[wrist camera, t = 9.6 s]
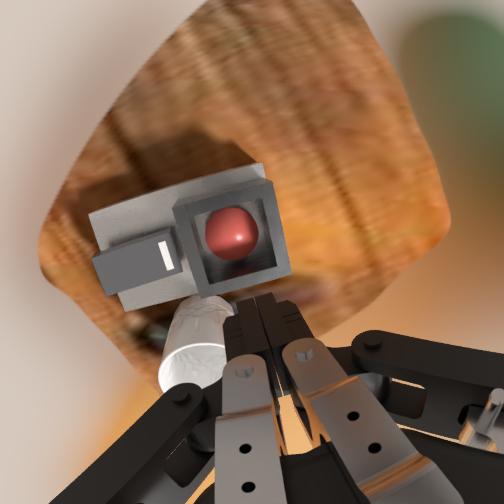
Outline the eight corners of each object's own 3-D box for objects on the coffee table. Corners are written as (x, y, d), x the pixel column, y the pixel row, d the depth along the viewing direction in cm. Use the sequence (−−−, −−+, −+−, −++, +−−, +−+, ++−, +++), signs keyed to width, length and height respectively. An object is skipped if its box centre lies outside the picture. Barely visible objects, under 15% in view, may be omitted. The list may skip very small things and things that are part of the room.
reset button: (199, 213, 25) (198, 216, 24) (249, 199, 26) (252, 202, 24) (212, 260, 27) (213, 266, 26) (261, 247, 27) (263, 252, 26)
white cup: (156, 302, 31) (140, 359, 21) (225, 276, 31) (234, 329, 22) (187, 357, 34) (184, 420, 24) (250, 336, 34) (266, 397, 24)
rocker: (95, 253, 24) (90, 258, 22) (170, 228, 25) (170, 232, 23) (109, 289, 25) (106, 296, 23) (182, 265, 26) (183, 272, 25)
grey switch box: (98, 208, 27) (70, 224, 20) (256, 162, 28) (271, 164, 21) (131, 298, 30) (115, 333, 24) (278, 258, 31) (297, 287, 25)
